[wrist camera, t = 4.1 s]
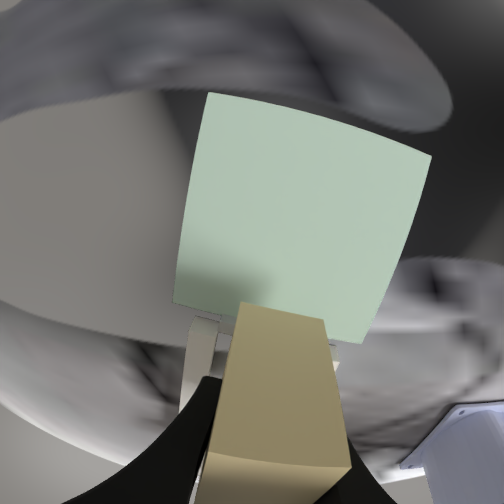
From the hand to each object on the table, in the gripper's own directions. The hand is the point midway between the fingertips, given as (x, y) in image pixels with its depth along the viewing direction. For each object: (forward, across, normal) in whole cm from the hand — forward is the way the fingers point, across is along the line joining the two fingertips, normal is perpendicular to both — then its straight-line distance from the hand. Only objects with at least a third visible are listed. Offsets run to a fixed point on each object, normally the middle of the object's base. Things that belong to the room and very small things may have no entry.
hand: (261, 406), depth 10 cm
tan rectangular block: (+2, 0, 0) cm, 2 cm away
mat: (+4, 0, -5) cm, 7 cm away
